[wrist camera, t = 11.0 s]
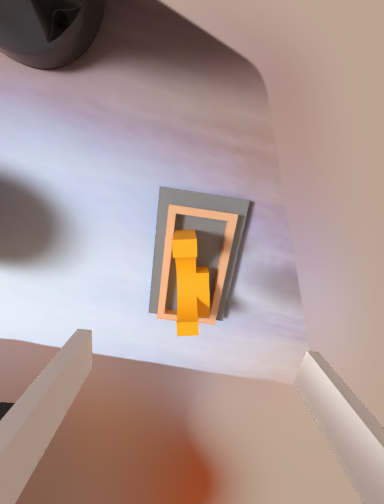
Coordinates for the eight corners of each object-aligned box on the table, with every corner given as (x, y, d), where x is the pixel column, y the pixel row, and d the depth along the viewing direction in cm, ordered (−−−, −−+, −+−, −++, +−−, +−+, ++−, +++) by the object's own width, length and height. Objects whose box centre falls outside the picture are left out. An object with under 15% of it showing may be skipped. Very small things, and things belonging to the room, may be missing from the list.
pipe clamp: (207, 304, 28) (212, 334, 22) (179, 305, 28) (177, 336, 22) (207, 228, 24) (213, 238, 18) (175, 229, 24) (171, 239, 18)
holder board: (160, 187, 24) (158, 185, 22) (247, 200, 24) (253, 200, 22) (149, 308, 29) (147, 317, 27) (221, 316, 30) (224, 325, 28)
